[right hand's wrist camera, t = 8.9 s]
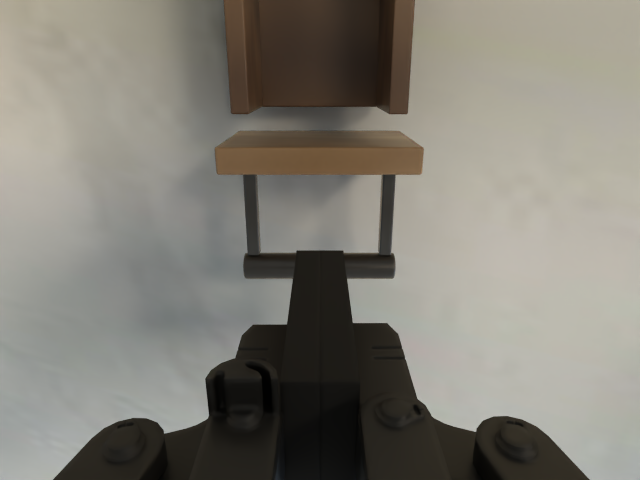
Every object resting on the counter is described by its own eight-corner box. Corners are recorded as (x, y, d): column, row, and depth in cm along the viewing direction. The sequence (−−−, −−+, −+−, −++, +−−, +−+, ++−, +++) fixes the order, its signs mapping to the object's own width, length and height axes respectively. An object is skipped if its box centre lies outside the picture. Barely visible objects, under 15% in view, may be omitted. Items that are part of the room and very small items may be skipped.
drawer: (393, 248, 28) (412, 295, 22) (245, 248, 28) (225, 295, 22) (424, -278, 20) (469, -430, 14) (214, -277, 20) (168, -430, 14)
